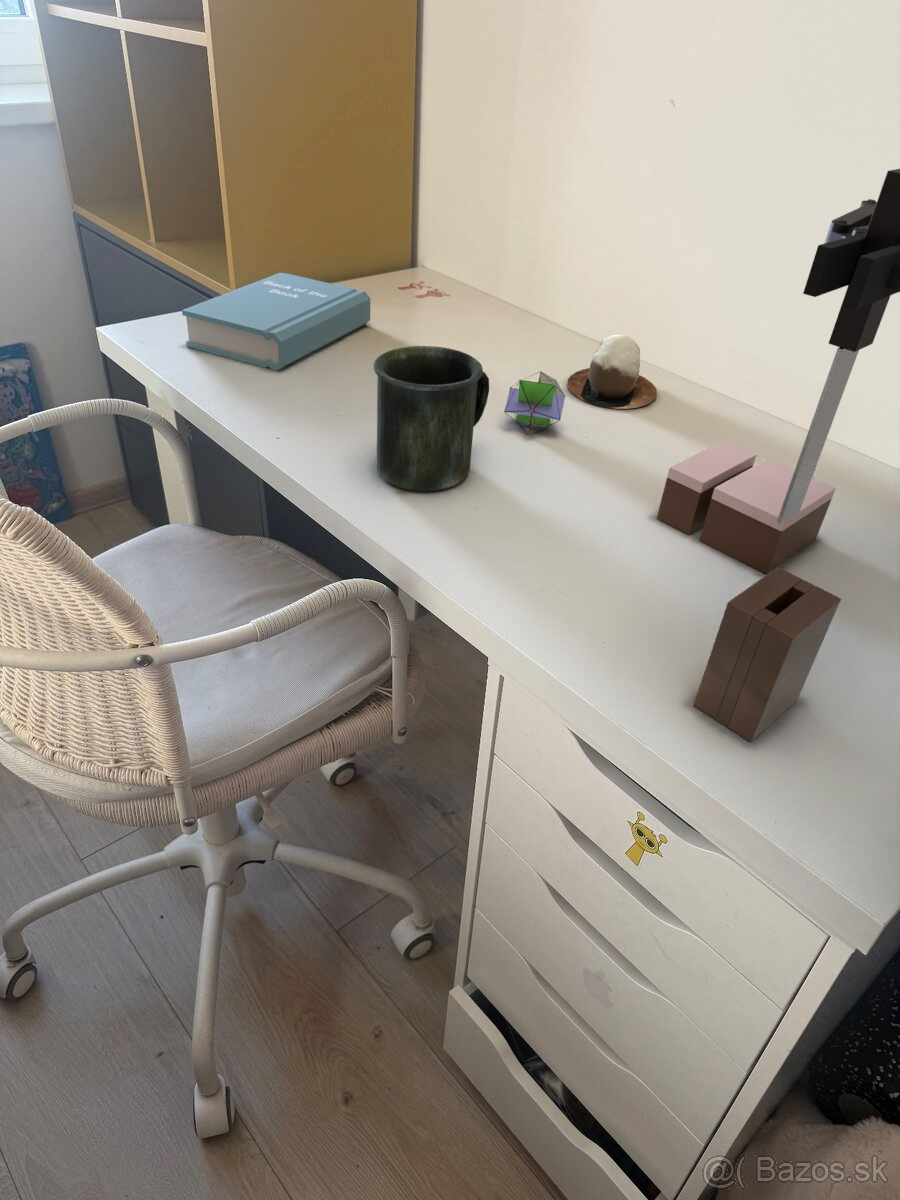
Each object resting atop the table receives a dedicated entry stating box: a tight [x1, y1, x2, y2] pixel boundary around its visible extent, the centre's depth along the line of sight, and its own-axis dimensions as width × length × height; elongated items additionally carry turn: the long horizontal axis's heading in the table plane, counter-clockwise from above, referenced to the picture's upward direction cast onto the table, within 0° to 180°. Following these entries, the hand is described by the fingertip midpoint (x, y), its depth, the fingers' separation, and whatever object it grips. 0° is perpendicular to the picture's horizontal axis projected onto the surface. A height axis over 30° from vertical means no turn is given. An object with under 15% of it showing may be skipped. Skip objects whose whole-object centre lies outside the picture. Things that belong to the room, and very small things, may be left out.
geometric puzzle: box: [503, 370, 567, 437], centre depth 99 cm, size 7×7×8 cm
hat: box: [566, 334, 658, 410], centre depth 111 cm, size 12×10×10 cm
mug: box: [372, 345, 490, 492], centre depth 88 cm, size 11×15×12 cm
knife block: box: [693, 566, 842, 743], centre depth 61 cm, size 5×7×10 cm
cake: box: [699, 458, 837, 575], centre depth 82 cm, size 8×10×6 cm
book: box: [181, 272, 371, 371], centre depth 119 cm, size 23×16×5 cm
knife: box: [776, 168, 900, 524], centre depth 54 cm, size 2×3×23 cm, turn 133°
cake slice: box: [656, 440, 757, 536], centre depth 86 cm, size 4×10×6 cm, turn 133°
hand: (837, 277), depth 47 cm, fingers closed on knife, 2 cm apart
